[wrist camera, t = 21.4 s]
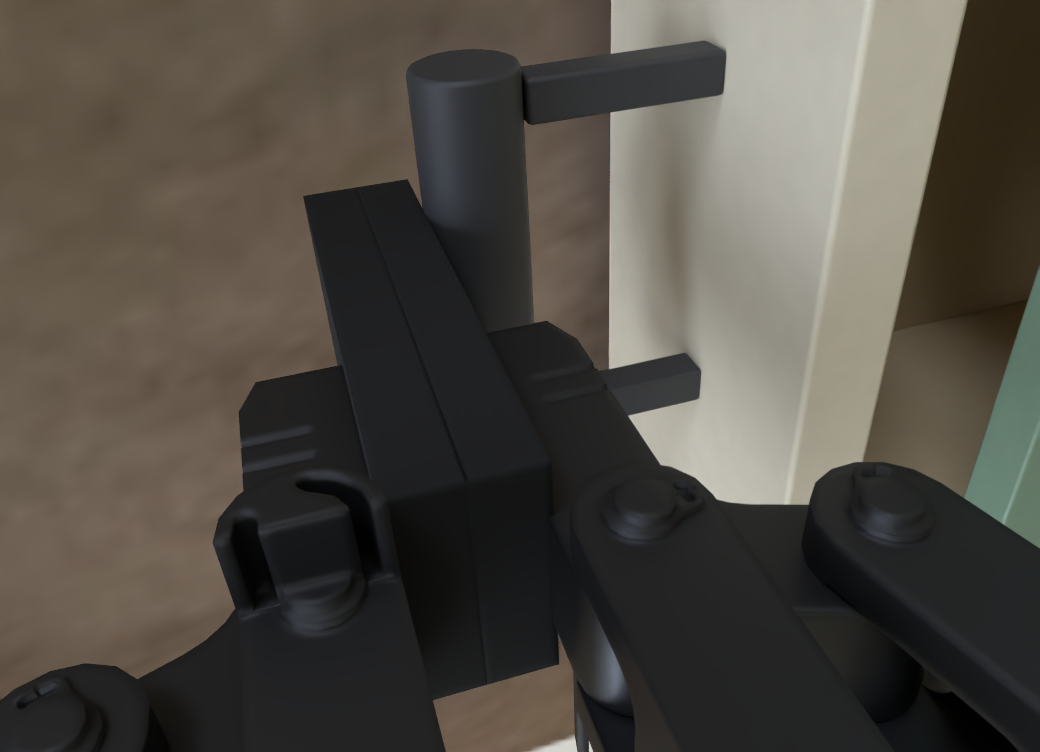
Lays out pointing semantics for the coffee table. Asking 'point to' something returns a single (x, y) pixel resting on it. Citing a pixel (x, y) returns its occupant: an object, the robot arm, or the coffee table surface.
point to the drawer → (773, 222)
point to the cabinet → (1014, 436)
